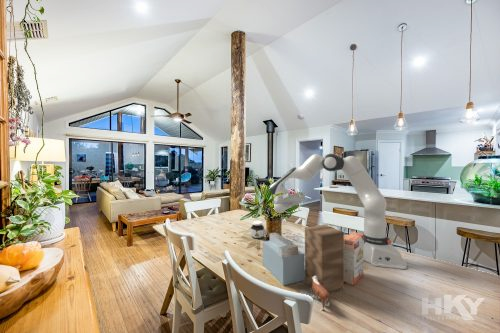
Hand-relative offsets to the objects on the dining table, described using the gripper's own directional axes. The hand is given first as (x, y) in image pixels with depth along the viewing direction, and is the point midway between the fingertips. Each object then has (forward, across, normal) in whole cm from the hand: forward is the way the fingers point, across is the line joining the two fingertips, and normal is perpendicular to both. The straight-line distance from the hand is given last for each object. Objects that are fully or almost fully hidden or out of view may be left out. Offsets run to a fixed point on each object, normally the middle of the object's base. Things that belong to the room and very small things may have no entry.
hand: (295, 193), depth 129 cm
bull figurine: (+14, -14, +52) cm, 56 cm away
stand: (+6, -5, +48) cm, 49 cm away
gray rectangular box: (-9, -16, +39) cm, 43 cm away
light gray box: (-3, -18, +27) cm, 33 cm away
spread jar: (-55, -5, +13) cm, 57 cm away
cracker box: (+7, +13, +48) cm, 51 cm away
